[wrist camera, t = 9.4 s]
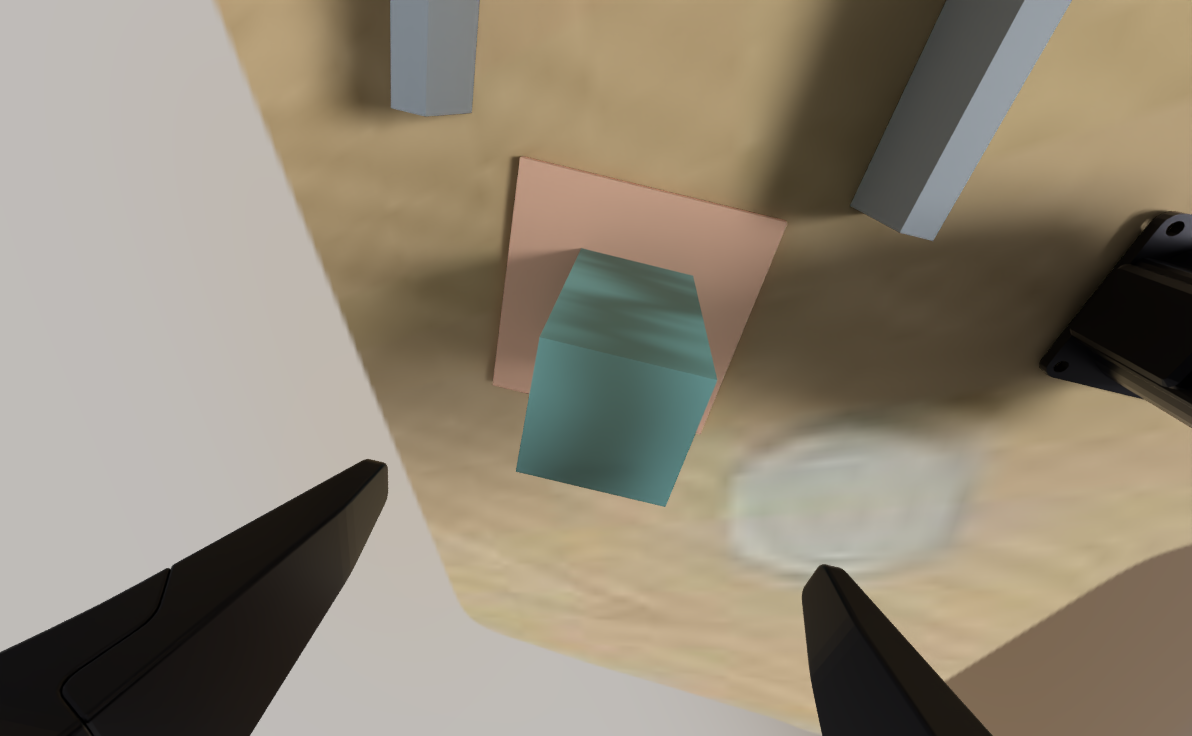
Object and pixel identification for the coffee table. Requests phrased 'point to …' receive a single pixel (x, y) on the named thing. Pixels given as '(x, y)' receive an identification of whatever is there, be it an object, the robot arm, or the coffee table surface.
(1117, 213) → the coffee table surface
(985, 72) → the open-front gray frame
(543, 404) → the teal block
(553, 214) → the terracotta mat
